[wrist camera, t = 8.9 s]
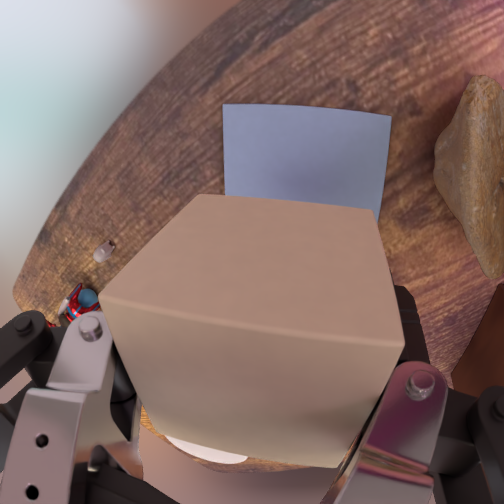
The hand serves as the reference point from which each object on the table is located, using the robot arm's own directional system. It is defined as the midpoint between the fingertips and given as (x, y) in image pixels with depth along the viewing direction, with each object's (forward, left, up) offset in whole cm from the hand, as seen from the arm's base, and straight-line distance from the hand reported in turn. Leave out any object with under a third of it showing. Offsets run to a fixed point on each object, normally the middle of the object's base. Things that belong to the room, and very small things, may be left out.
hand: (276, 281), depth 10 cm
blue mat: (0, 0, -9) cm, 9 cm away
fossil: (-3, +10, -10) cm, 14 cm away
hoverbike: (+14, -21, -10) cm, 27 cm away
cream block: (0, 0, 0) cm, 0 cm away
